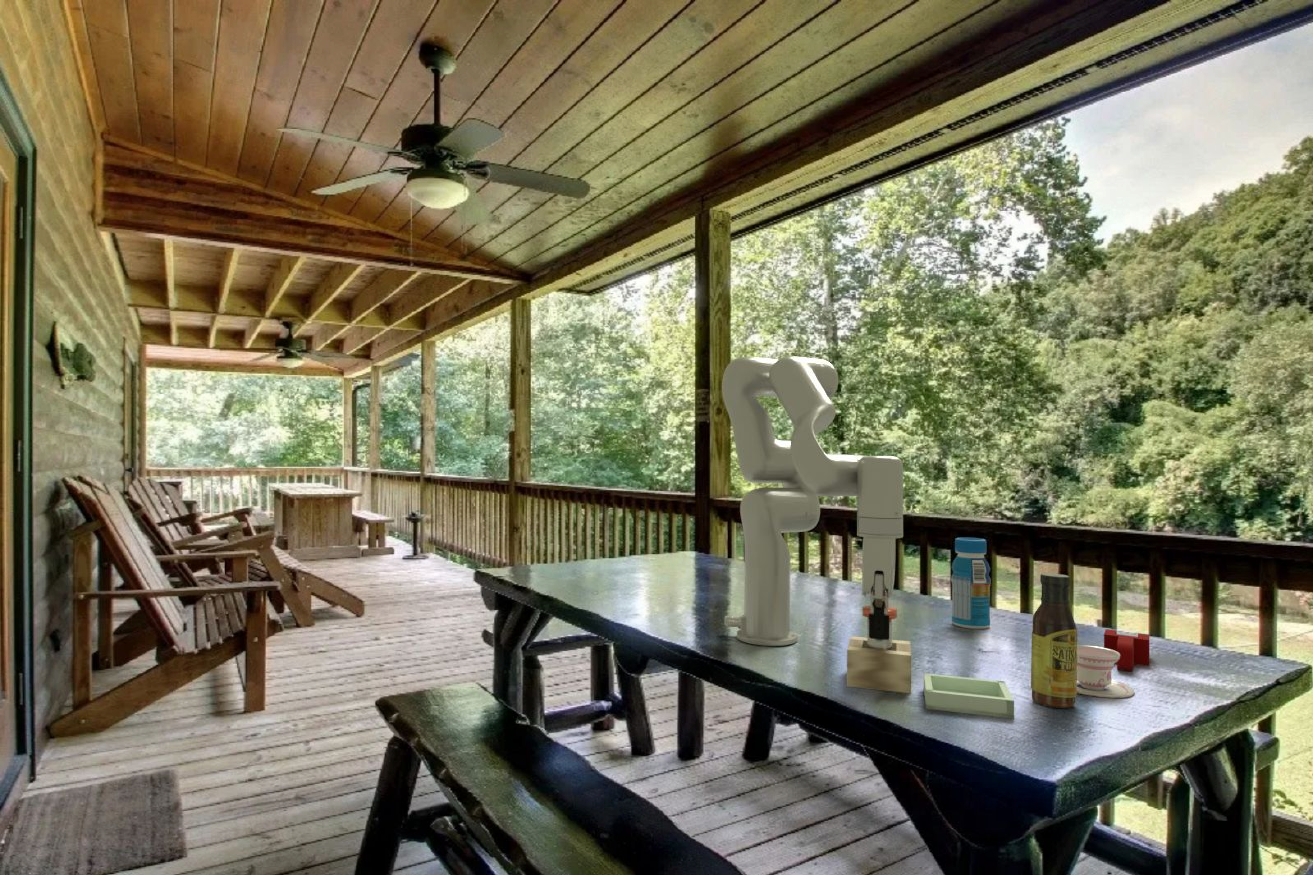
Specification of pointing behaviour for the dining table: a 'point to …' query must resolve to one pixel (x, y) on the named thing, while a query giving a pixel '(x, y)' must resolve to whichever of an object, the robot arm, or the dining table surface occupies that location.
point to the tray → (968, 695)
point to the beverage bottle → (971, 584)
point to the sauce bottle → (1054, 646)
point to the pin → (879, 642)
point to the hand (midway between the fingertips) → (879, 633)
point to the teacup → (1099, 672)
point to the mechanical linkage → (1128, 649)
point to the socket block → (879, 666)
